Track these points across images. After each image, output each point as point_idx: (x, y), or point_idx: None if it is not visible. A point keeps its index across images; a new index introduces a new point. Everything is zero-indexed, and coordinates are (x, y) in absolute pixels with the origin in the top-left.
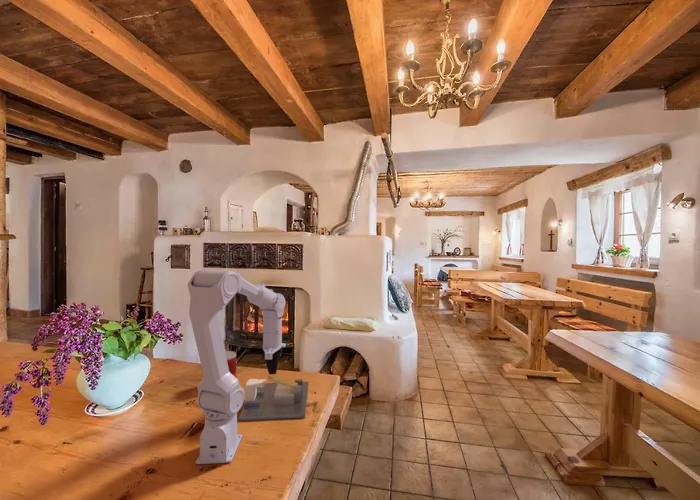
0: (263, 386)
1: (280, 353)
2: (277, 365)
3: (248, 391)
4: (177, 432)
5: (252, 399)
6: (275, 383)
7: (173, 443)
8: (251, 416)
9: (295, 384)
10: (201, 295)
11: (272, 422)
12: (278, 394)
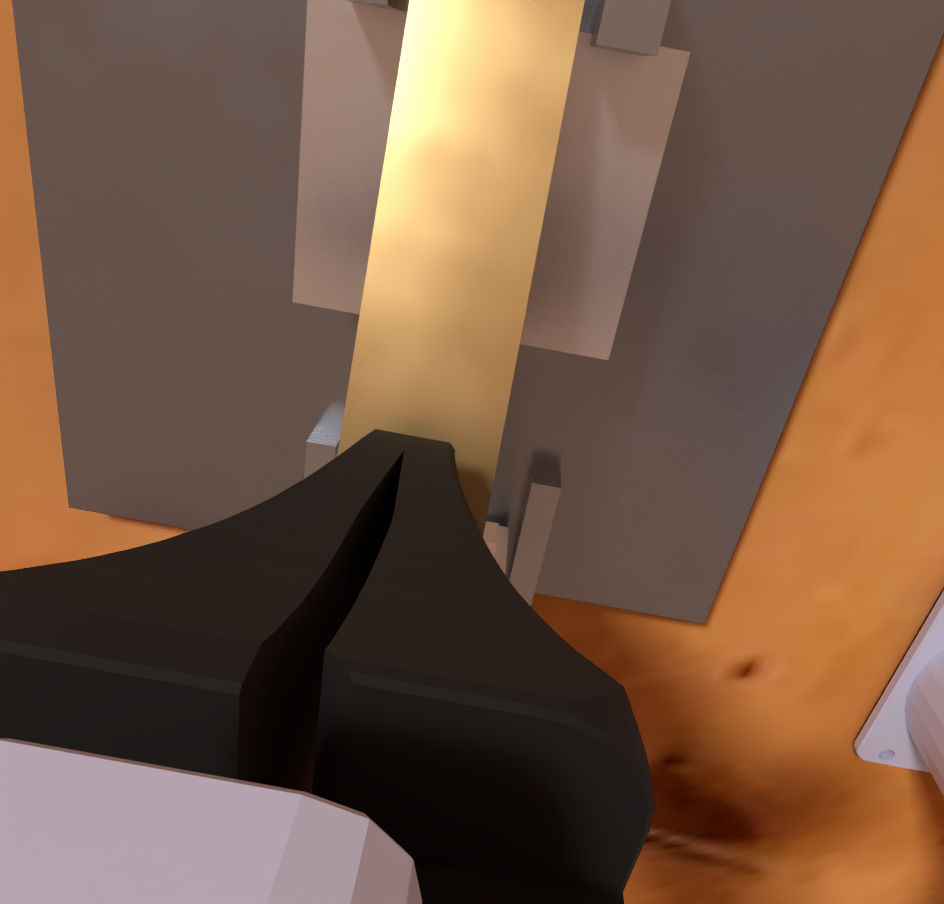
0: (494, 526)
1: (525, 724)
2: (377, 486)
3: None
4: (679, 890)
5: (505, 553)
6: (62, 288)
7: (793, 893)
8: (739, 529)
9: (506, 1)
10: None
11: (860, 325)
12: (607, 300)
